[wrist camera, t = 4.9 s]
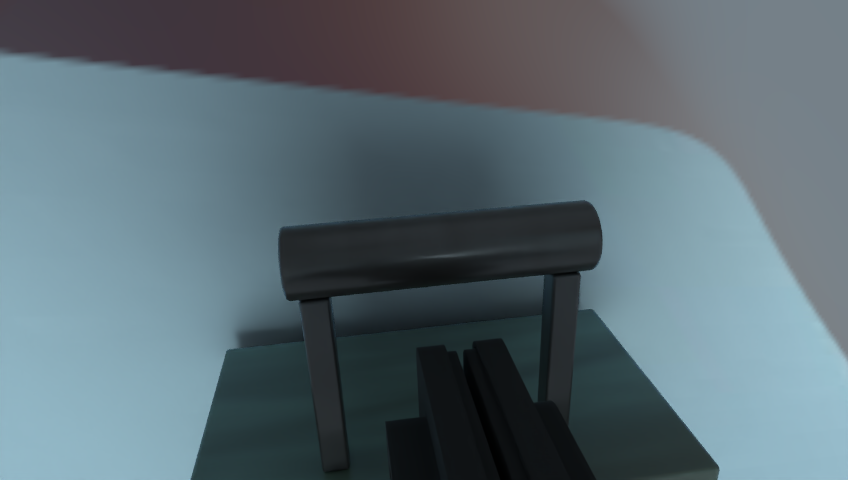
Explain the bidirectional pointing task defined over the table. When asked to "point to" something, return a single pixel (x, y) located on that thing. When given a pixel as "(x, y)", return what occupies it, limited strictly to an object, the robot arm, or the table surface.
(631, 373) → the drawer
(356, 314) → the table surface
